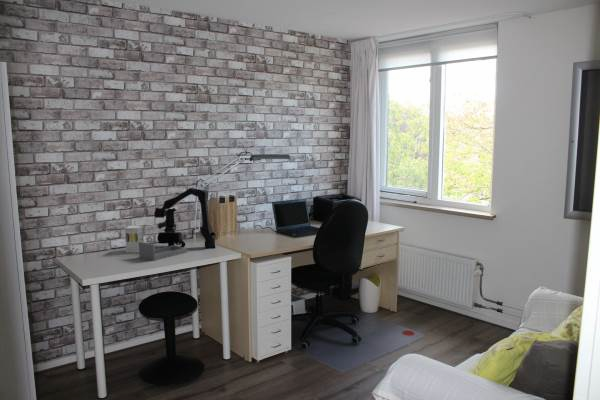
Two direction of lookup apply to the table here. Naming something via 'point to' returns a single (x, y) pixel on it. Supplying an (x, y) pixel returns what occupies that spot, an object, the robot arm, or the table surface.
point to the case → (158, 251)
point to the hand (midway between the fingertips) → (171, 239)
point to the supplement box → (133, 238)
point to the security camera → (176, 239)
